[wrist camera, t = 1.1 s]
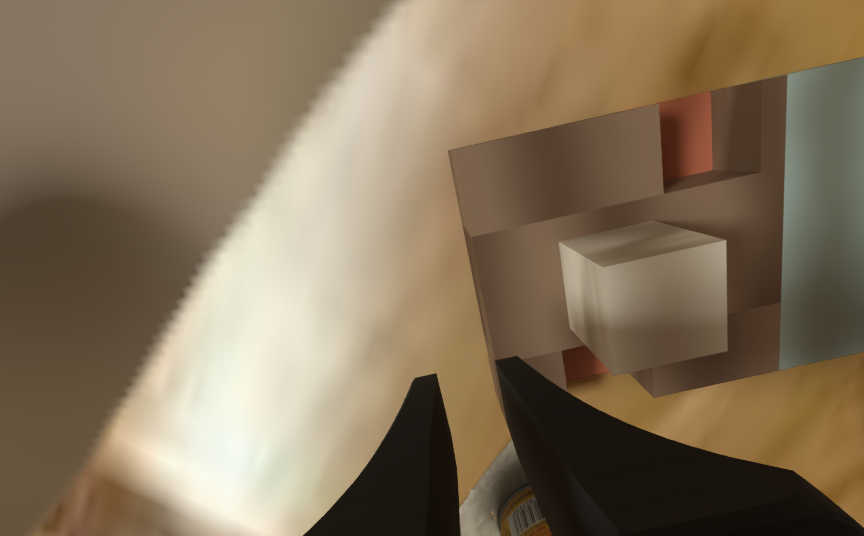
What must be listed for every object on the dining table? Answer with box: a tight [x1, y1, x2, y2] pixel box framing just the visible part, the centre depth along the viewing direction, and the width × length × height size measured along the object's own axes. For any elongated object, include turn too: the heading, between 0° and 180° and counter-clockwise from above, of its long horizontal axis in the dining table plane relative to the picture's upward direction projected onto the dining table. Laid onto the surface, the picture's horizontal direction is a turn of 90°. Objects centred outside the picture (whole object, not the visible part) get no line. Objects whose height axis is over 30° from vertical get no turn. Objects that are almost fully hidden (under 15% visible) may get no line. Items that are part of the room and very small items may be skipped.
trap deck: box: [448, 57, 864, 429], centre depth 18 cm, size 18×13×4 cm
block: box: [559, 221, 728, 376], centre depth 15 cm, size 4×4×4 cm
